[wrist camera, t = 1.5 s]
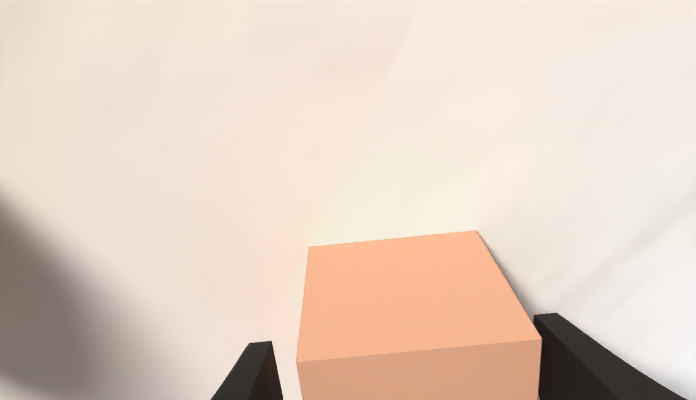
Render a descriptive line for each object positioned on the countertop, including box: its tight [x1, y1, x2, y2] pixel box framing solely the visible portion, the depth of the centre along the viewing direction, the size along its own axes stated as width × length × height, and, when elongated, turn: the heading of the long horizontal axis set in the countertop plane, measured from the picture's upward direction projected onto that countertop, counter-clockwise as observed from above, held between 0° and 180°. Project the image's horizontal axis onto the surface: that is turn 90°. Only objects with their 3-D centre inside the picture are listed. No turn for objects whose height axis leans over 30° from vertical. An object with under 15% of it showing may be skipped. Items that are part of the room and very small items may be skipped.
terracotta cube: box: [296, 230, 542, 400], centre depth 13 cm, size 5×5×5 cm
